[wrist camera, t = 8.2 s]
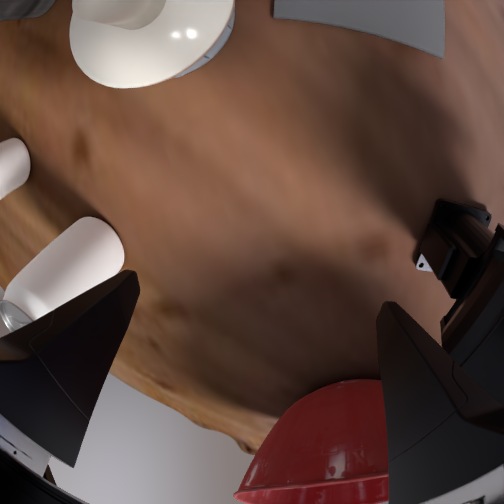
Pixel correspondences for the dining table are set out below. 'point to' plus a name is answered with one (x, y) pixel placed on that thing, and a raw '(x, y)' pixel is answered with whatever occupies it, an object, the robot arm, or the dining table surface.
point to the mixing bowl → (324, 450)
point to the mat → (376, 19)
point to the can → (63, 271)
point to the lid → (144, 38)
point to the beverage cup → (23, 8)
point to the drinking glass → (13, 165)
